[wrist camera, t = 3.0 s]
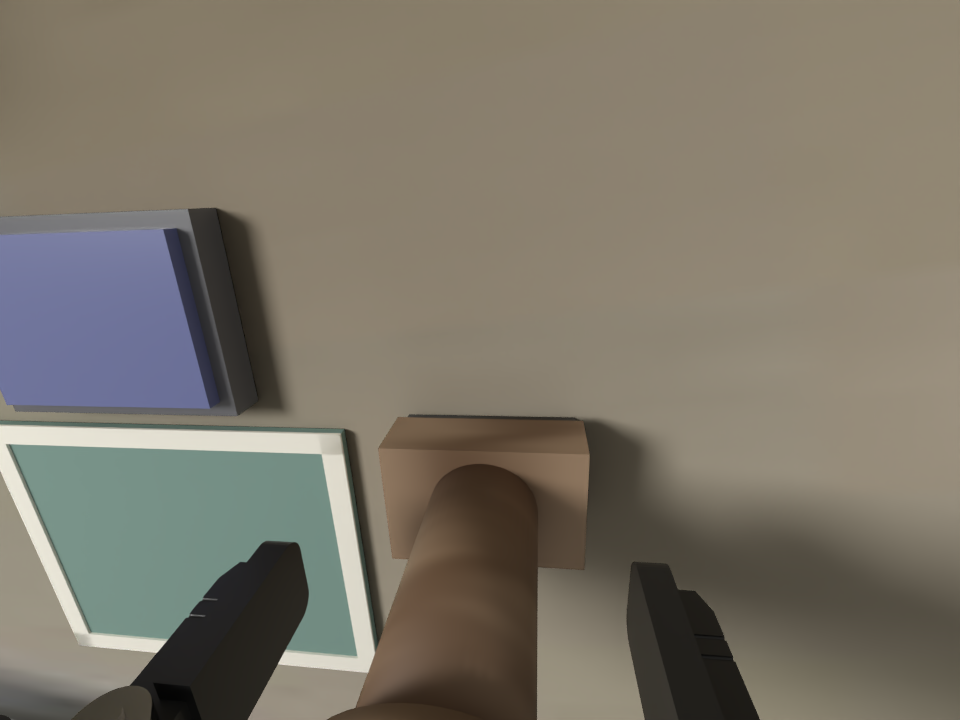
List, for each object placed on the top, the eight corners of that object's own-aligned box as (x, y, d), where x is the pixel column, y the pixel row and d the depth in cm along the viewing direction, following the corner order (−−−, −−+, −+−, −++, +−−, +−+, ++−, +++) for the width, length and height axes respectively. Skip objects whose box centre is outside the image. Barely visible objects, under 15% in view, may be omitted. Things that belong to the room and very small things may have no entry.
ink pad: (215, 207, 14) (174, 209, 13) (258, 400, 16) (228, 423, 15) (-21, 217, 15) (-86, 220, 14) (49, 397, 17) (-1, 417, 16)
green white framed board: (344, 429, 16) (339, 434, 16) (381, 664, 20) (378, 673, 20) (-9, 420, 18) (-21, 425, 18) (87, 637, 22) (79, 645, 22)
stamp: (581, 406, 15) (660, 802, 5) (577, 518, 16) (632, 989, 7) (402, 403, 16) (180, 744, 6) (413, 511, 17) (250, 923, 7)
